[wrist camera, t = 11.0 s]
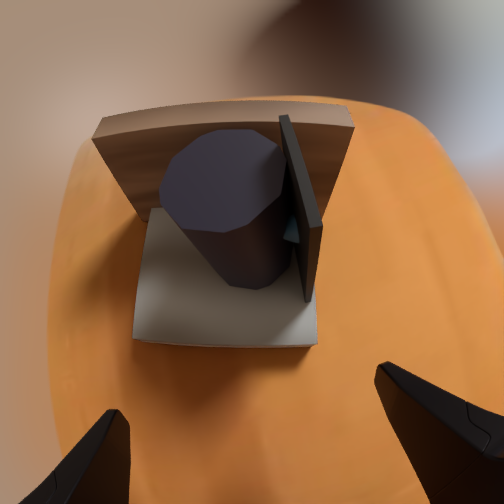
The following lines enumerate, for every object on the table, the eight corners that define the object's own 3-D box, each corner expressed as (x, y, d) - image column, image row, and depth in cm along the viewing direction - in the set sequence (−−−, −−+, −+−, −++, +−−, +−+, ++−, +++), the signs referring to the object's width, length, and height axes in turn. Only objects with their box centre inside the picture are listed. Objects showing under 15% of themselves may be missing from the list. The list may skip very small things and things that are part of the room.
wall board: (332, 345, 18) (399, 318, 9) (125, 339, 18) (36, 307, 9) (318, 199, 23) (346, 105, 14) (147, 202, 23) (102, 117, 14)
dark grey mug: (323, 225, 19) (344, 110, 10) (310, 304, 17) (336, 232, 8) (222, 210, 21) (177, 102, 11) (200, 282, 19) (120, 202, 9)
